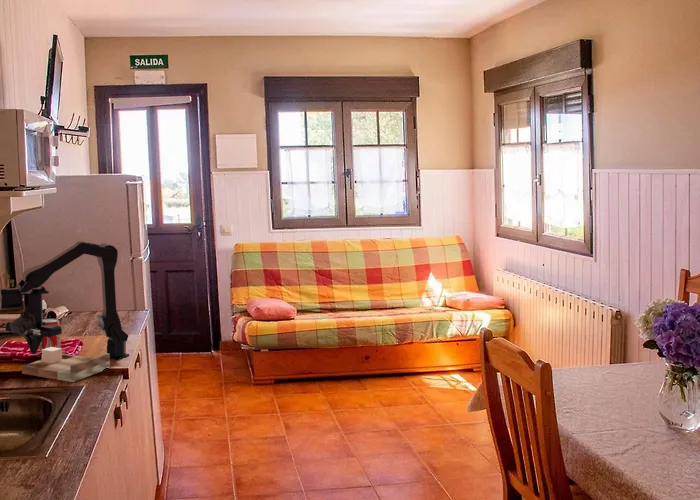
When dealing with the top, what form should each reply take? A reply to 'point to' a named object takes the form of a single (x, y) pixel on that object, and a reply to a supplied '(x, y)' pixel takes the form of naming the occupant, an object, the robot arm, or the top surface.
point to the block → (51, 355)
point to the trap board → (68, 367)
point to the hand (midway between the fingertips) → (33, 353)
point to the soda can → (50, 341)
